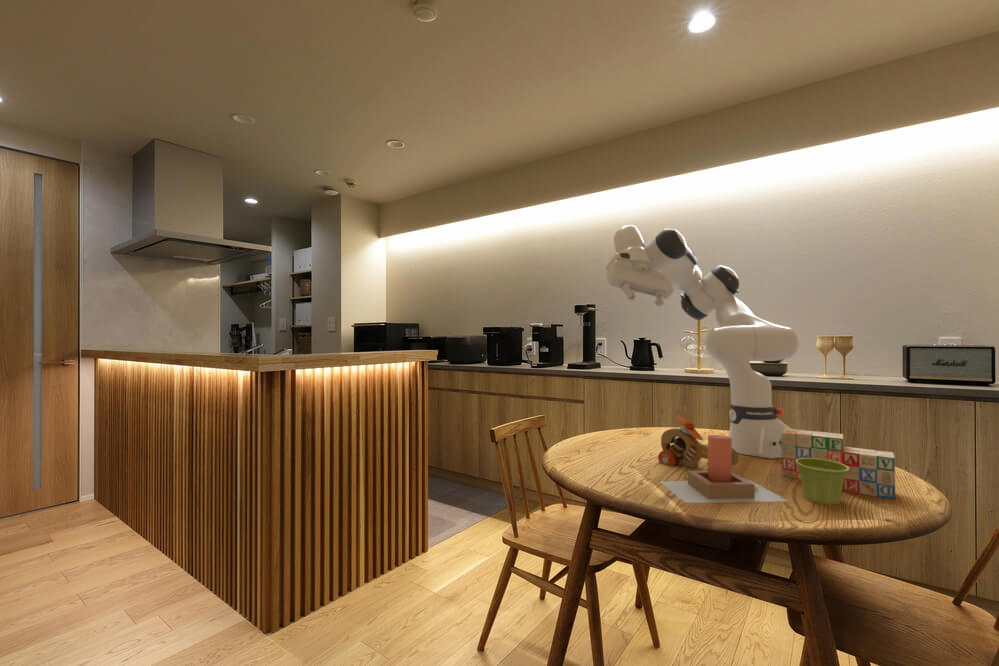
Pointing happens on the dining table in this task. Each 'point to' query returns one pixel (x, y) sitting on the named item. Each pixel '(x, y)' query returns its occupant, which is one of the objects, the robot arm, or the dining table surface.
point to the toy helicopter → (684, 446)
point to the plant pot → (822, 479)
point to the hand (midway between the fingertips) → (646, 301)
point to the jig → (719, 490)
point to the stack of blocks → (841, 461)
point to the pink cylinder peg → (719, 458)
